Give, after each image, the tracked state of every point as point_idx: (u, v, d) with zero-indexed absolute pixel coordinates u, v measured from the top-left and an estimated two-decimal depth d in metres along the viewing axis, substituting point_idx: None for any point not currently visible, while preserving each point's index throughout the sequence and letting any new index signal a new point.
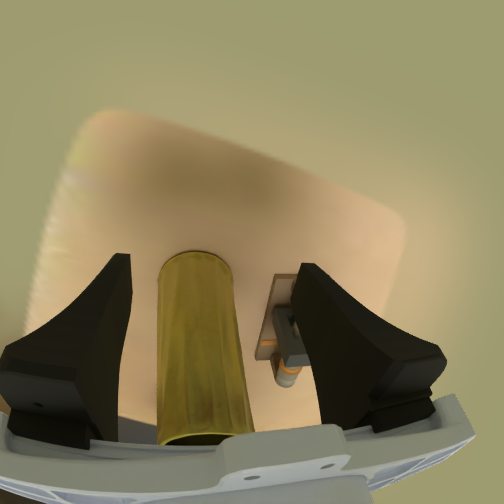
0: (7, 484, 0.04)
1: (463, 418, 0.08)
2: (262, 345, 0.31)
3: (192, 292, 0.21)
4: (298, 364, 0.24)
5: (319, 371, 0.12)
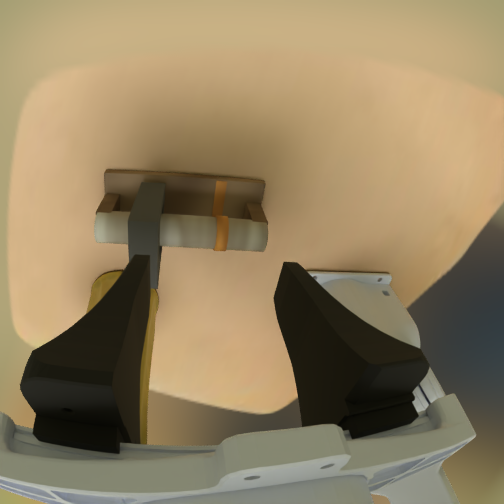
0: (7, 484, 0.04)
1: (463, 418, 0.08)
2: None
3: None
4: (152, 274, 0.18)
5: (300, 373, 0.11)
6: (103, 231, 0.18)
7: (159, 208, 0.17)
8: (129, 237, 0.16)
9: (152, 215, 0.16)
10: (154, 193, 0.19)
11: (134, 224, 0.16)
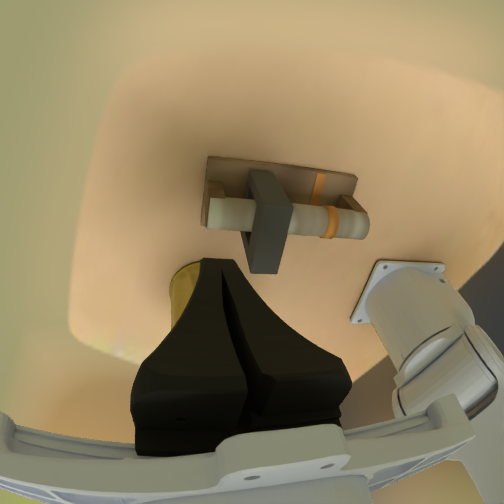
0: (7, 484, 0.04)
1: (463, 418, 0.08)
2: None
3: None
4: (275, 259, 0.19)
5: None
6: (219, 217, 0.19)
7: (285, 195, 0.18)
8: (262, 221, 0.17)
9: (283, 201, 0.17)
10: (270, 181, 0.20)
11: (270, 208, 0.17)
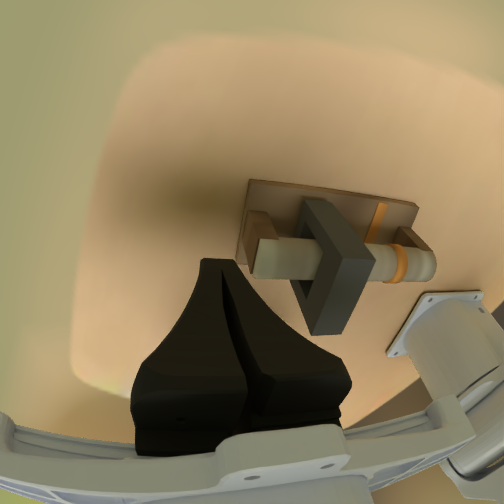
0: (7, 484, 0.04)
1: (463, 418, 0.08)
2: None
3: None
4: (343, 319, 0.14)
5: None
6: (273, 265, 0.14)
7: (359, 239, 0.14)
8: (336, 278, 0.13)
9: (361, 249, 0.13)
10: (334, 217, 0.15)
11: (349, 262, 0.12)
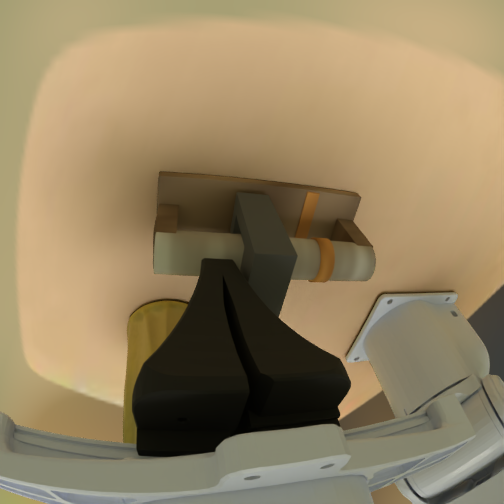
0: (7, 484, 0.04)
1: (463, 418, 0.08)
2: None
3: None
4: None
5: None
6: (167, 260, 0.13)
7: (285, 233, 0.13)
8: (251, 275, 0.12)
9: (283, 244, 0.12)
10: (264, 209, 0.14)
11: (263, 258, 0.12)
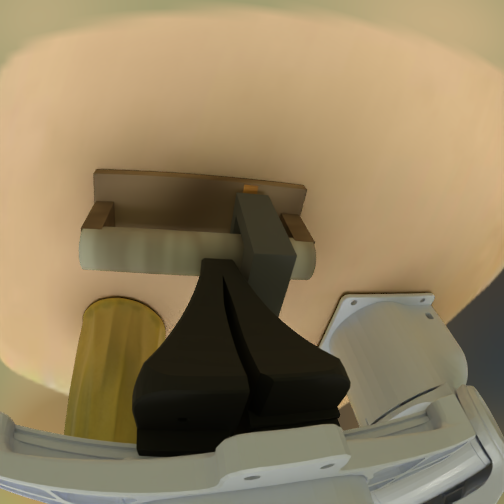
0: (7, 484, 0.04)
1: (463, 418, 0.08)
2: None
3: None
4: None
5: None
6: (91, 255, 0.13)
7: (285, 233, 0.13)
8: (251, 275, 0.12)
9: (282, 244, 0.12)
10: (264, 210, 0.14)
11: (262, 258, 0.12)
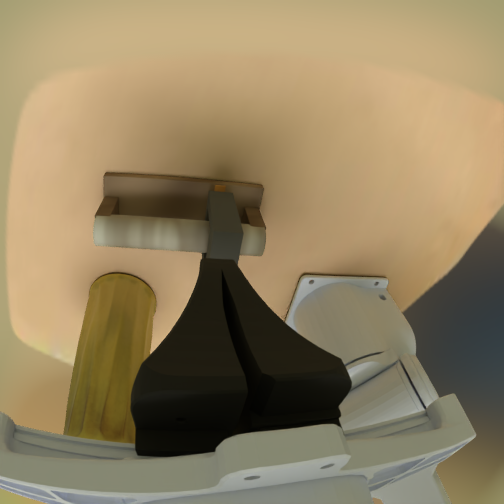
0: (7, 484, 0.04)
1: (463, 418, 0.08)
2: None
3: None
4: None
5: None
6: (102, 234, 0.18)
7: (238, 219, 0.18)
8: (212, 247, 0.17)
9: (234, 226, 0.18)
10: (226, 203, 0.20)
11: (219, 234, 0.17)
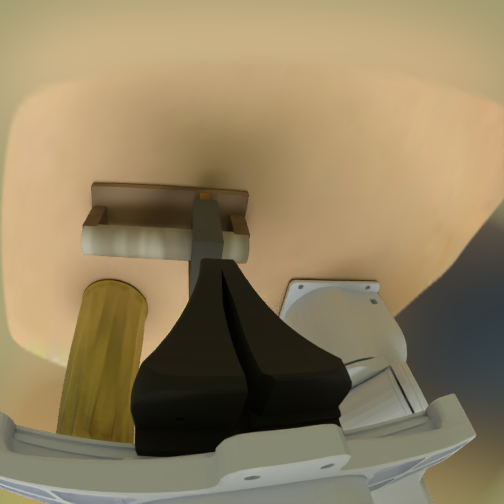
0: (7, 484, 0.04)
1: (463, 418, 0.08)
2: None
3: None
4: None
5: None
6: (89, 244, 0.18)
7: (220, 228, 0.18)
8: (193, 256, 0.17)
9: (215, 235, 0.18)
10: (210, 211, 0.20)
11: (200, 244, 0.17)
